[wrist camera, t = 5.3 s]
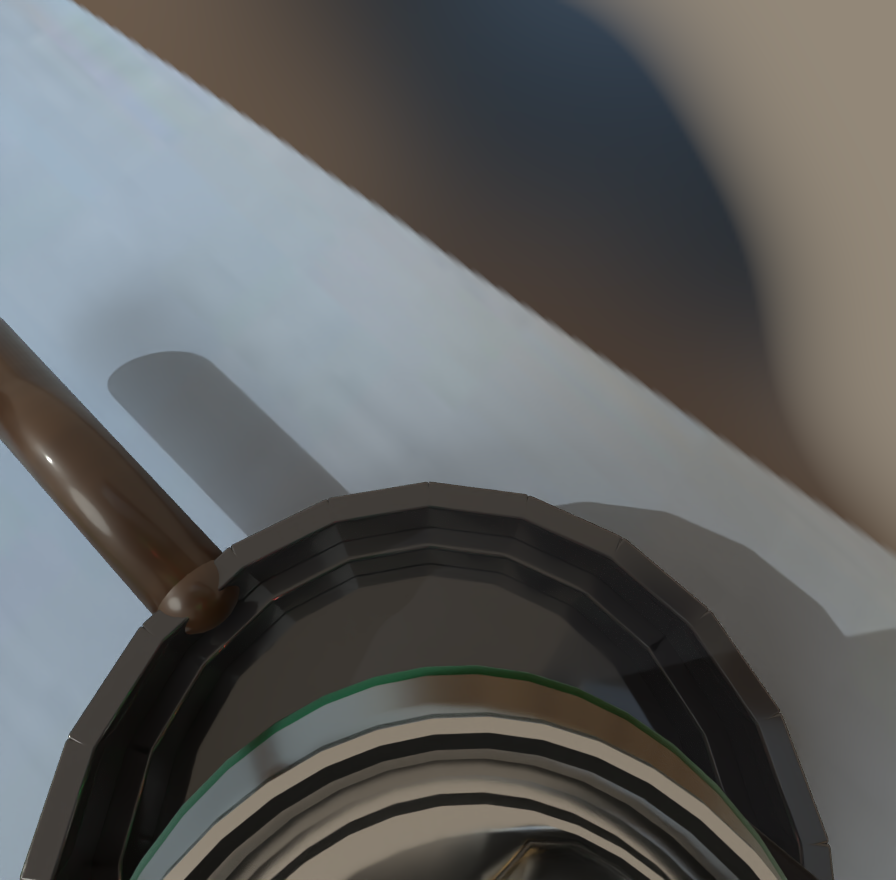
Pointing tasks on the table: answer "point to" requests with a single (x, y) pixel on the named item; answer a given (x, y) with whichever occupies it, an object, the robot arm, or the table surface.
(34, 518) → the table surface
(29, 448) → the pan handle
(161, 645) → the pan
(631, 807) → the soda can
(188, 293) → the table surface
